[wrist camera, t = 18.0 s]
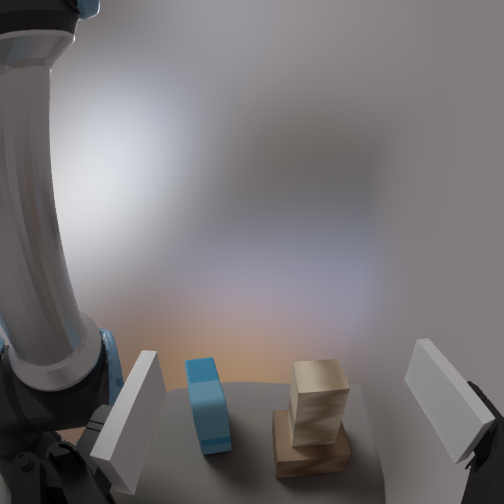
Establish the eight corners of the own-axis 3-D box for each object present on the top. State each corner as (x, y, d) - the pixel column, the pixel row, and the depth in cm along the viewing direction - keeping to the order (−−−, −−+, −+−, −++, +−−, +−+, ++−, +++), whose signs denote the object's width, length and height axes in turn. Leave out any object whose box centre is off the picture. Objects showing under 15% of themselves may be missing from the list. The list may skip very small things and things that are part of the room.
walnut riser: (275, 478, 31) (277, 461, 30) (272, 430, 41) (273, 410, 40) (344, 470, 31) (351, 453, 30) (331, 425, 41) (336, 405, 40)
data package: (232, 454, 36) (227, 404, 33) (203, 458, 35) (191, 409, 32) (217, 404, 47) (211, 352, 44) (193, 407, 46) (183, 356, 43)
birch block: (291, 447, 32) (298, 393, 29) (287, 417, 38) (292, 361, 35) (334, 442, 32) (349, 388, 29) (327, 414, 38) (338, 358, 35)
